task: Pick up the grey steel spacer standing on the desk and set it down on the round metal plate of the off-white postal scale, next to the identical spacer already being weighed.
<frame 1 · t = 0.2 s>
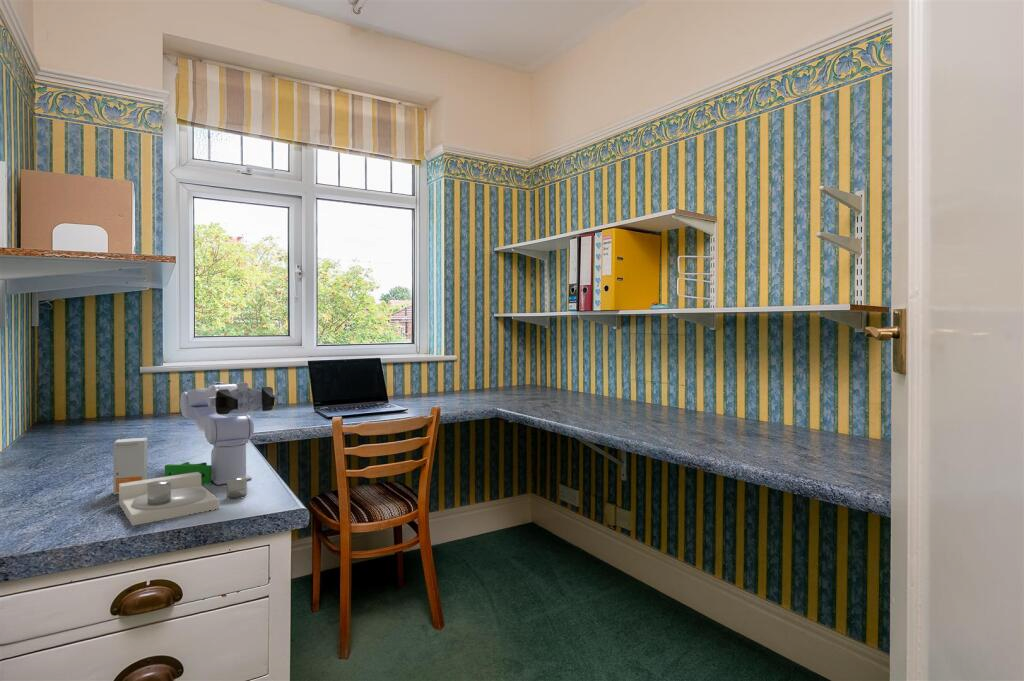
hand: (254, 402, 124), 21 cm above the table, tool horizontal, fingers open, 7 cm apart
scale: (168, 507, 117), on the table
spacer a: (159, 502, 112), point 3 cm above the table, touching scale
spacer b: (236, 496, 125), on the table
skincare box: (131, 492, 128), on the table
pipe clamp: (191, 483, 137), on the table
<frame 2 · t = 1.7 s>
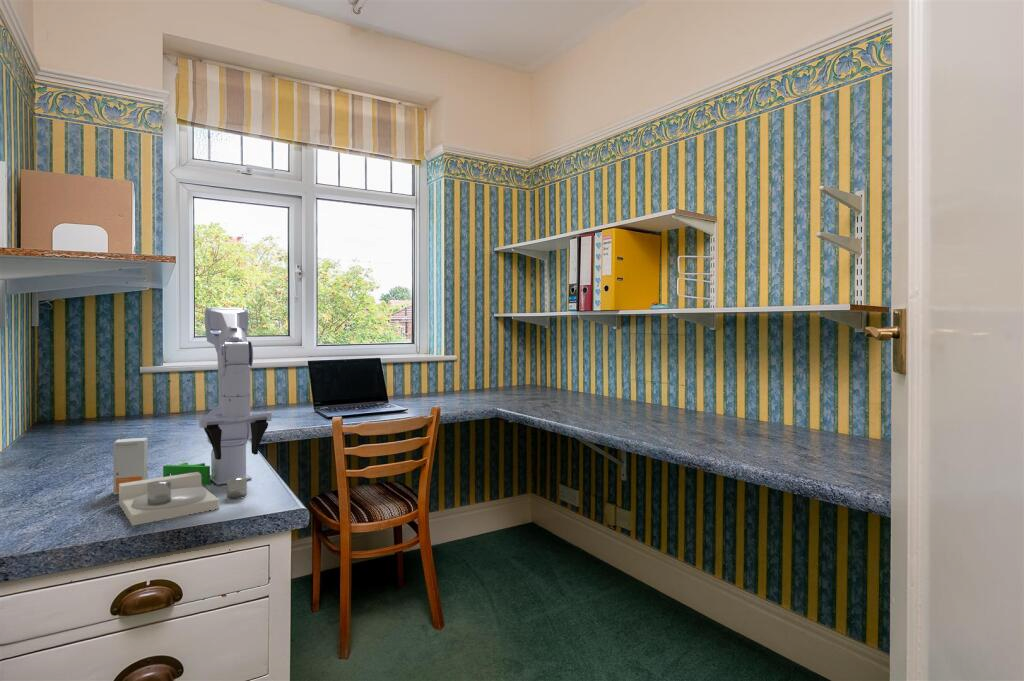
hand: (236, 456, 125), 9 cm above the table, tool pointing down, fingers open, 7 cm apart
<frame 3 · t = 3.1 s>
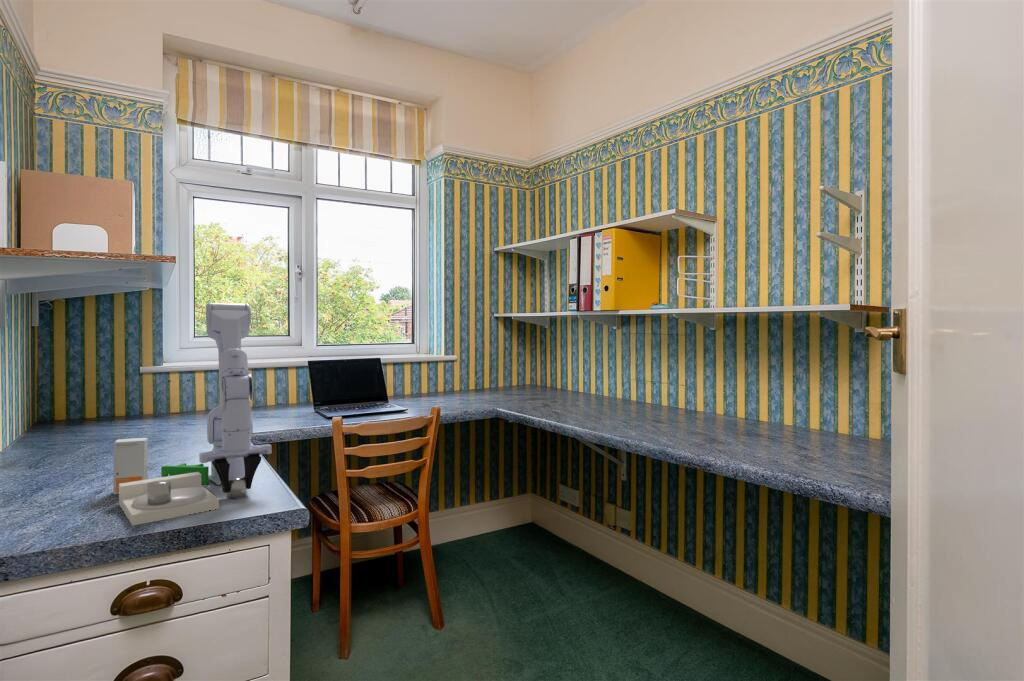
hand: (236, 490, 125), 1 cm above the table, tool pointing down, fingers closed on spacer b, 4 cm apart
spacer b: (236, 496, 125), on the table, touching gripper
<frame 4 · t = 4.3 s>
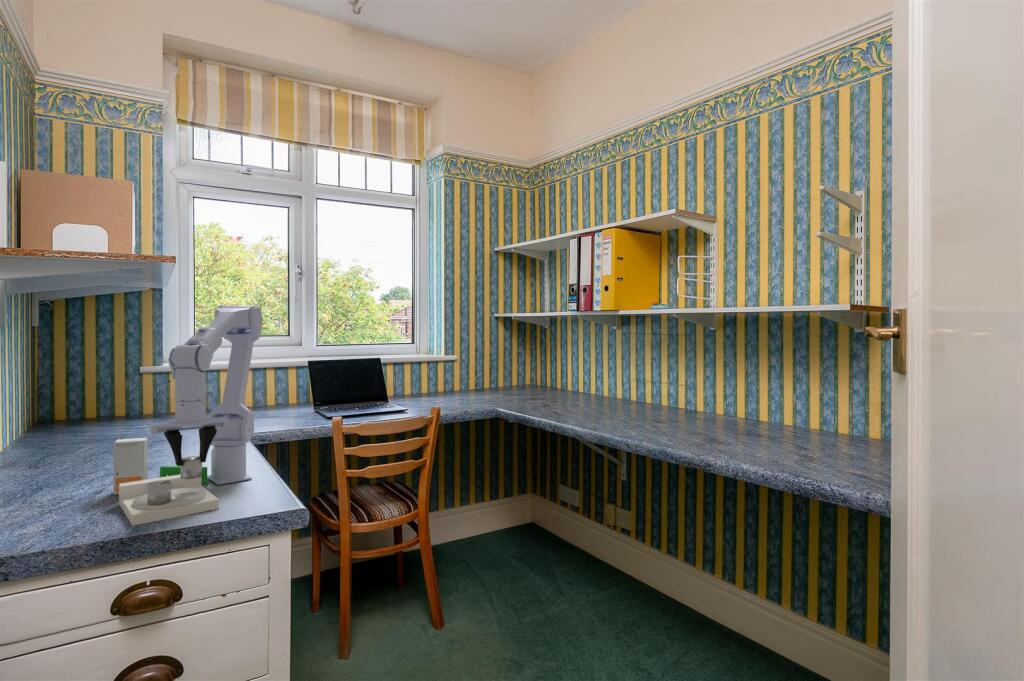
hand: (190, 463, 120), 8 cm above the table, tool pointing down, fingers closed on spacer b, 4 cm apart
spacer b: (191, 476, 120), point 6 cm above the table, touching gripper
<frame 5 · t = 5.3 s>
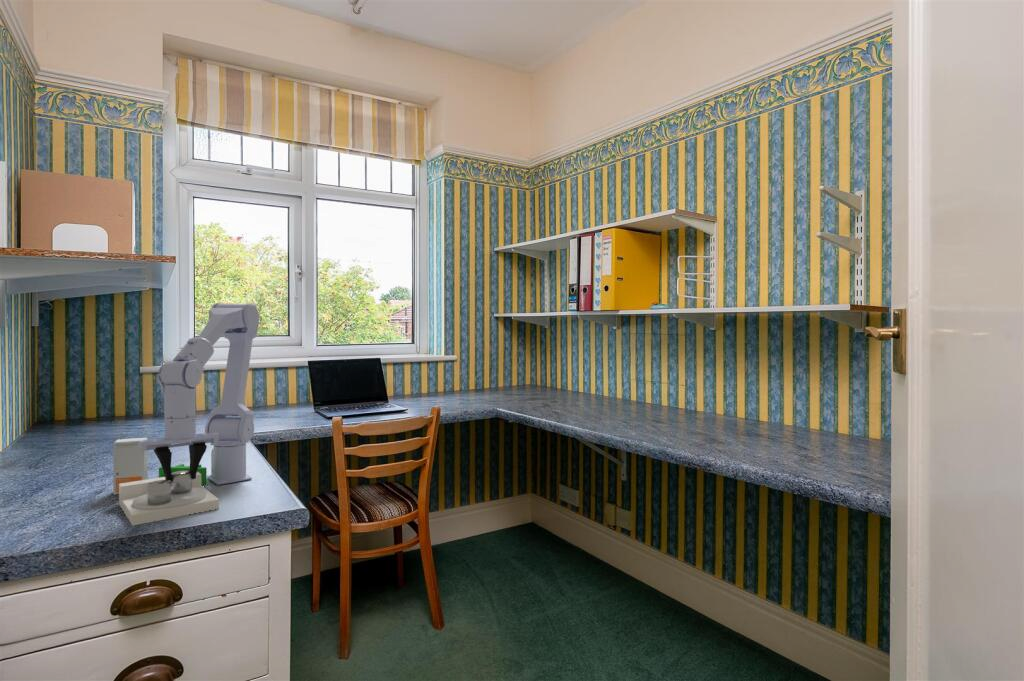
hand: (180, 480, 119), 5 cm above the table, tool pointing down, fingers closed on spacer b, 4 cm apart
spacer b: (181, 491, 119), point 3 cm above the table, touching gripper, scale
when the fingers open (5 cm above the table, at t = 5.5 s): spacer b stays where it is, resting on scale.
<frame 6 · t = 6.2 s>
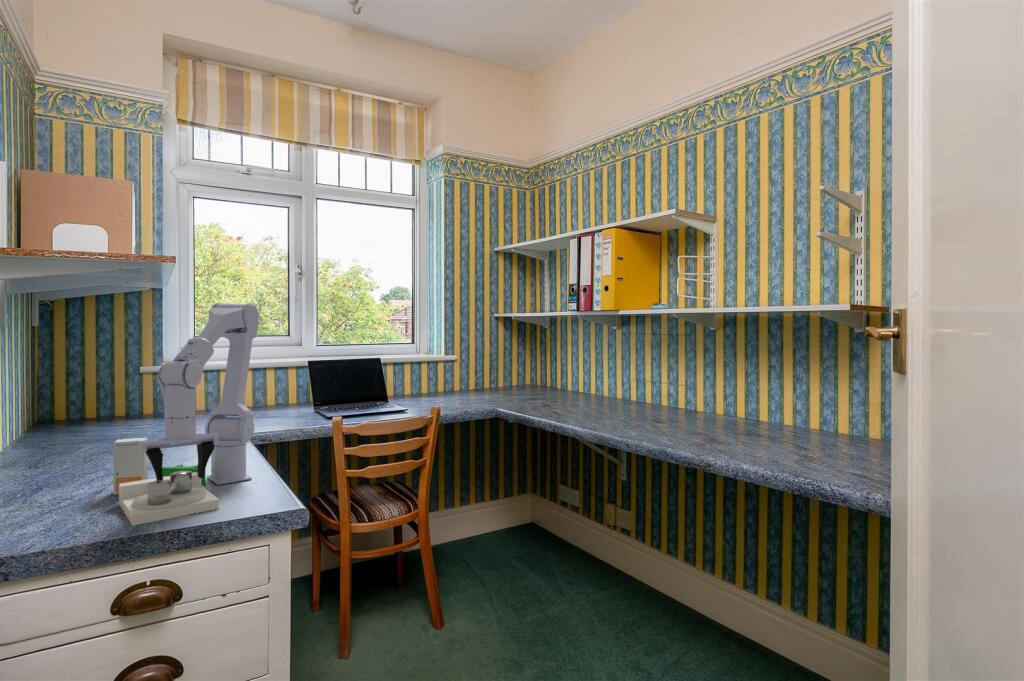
hand: (180, 480, 119), 5 cm above the table, tool pointing down, fingers open, 7 cm apart
spacer b: (181, 491, 119), point 3 cm above the table, touching scale
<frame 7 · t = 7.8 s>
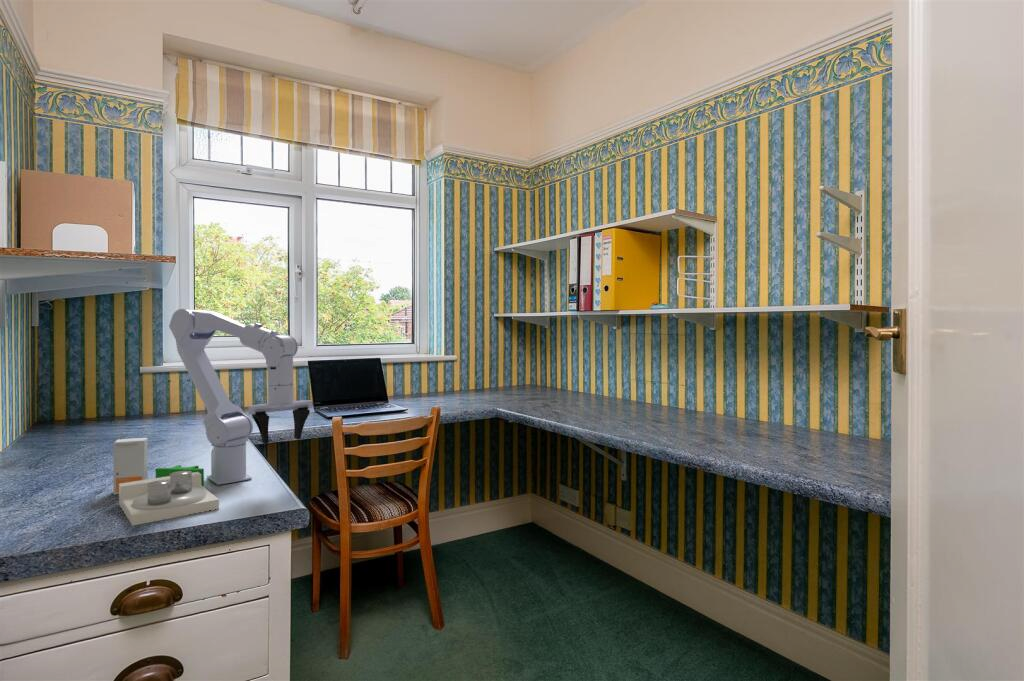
hand: (281, 440, 135), 10 cm above the table, tool pointing down, fingers open, 7 cm apart
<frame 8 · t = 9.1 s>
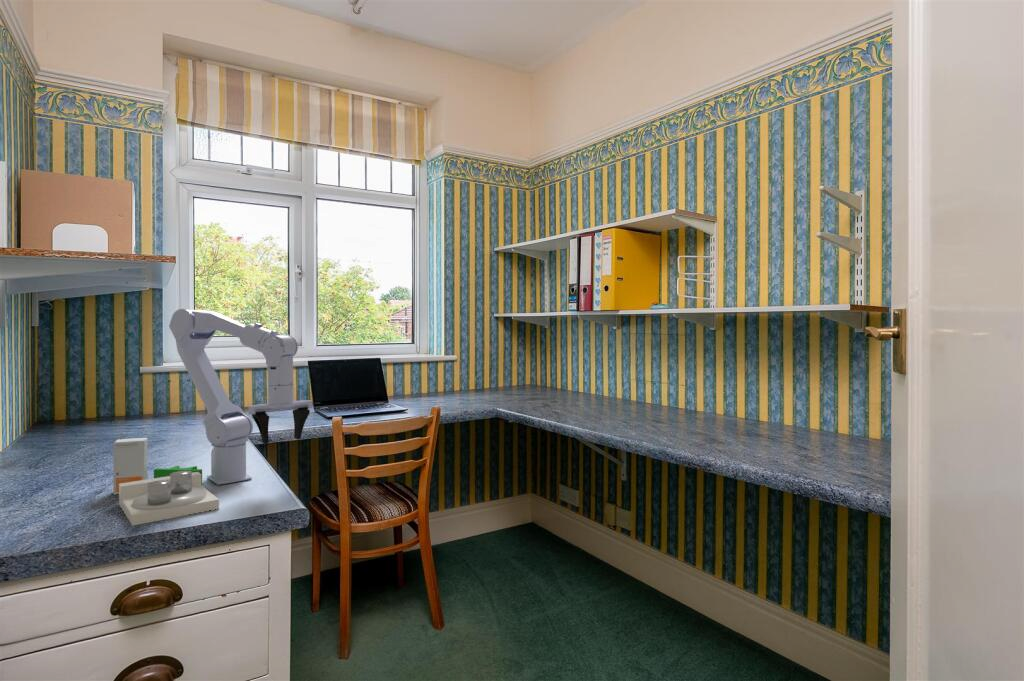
hand: (281, 440, 135), 10 cm above the table, tool pointing down, fingers open, 7 cm apart
at the end: spacer b inside the target area on the scale (3.7 cm from its centre), point 2.6 cm above the scale's base; spacer a inside the target area on the scale (3.9 cm from its centre), point 2.6 cm above the scale's base; the gripper is holding nothing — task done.
